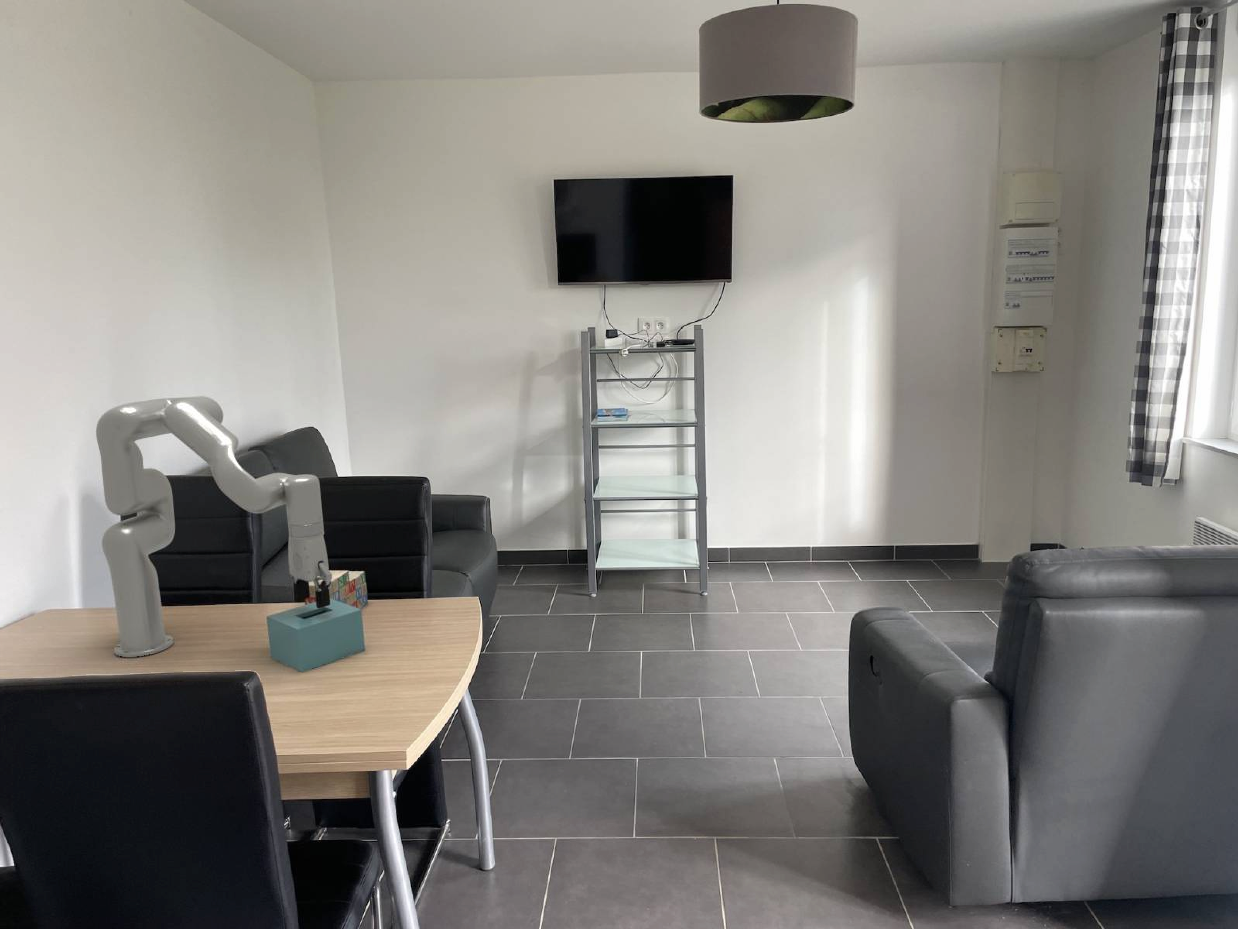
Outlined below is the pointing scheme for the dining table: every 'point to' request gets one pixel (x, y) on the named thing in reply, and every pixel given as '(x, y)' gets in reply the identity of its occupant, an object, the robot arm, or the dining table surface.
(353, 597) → the stack of blocks
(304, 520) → the robot arm
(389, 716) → the dining table surface
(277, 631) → the coin box
